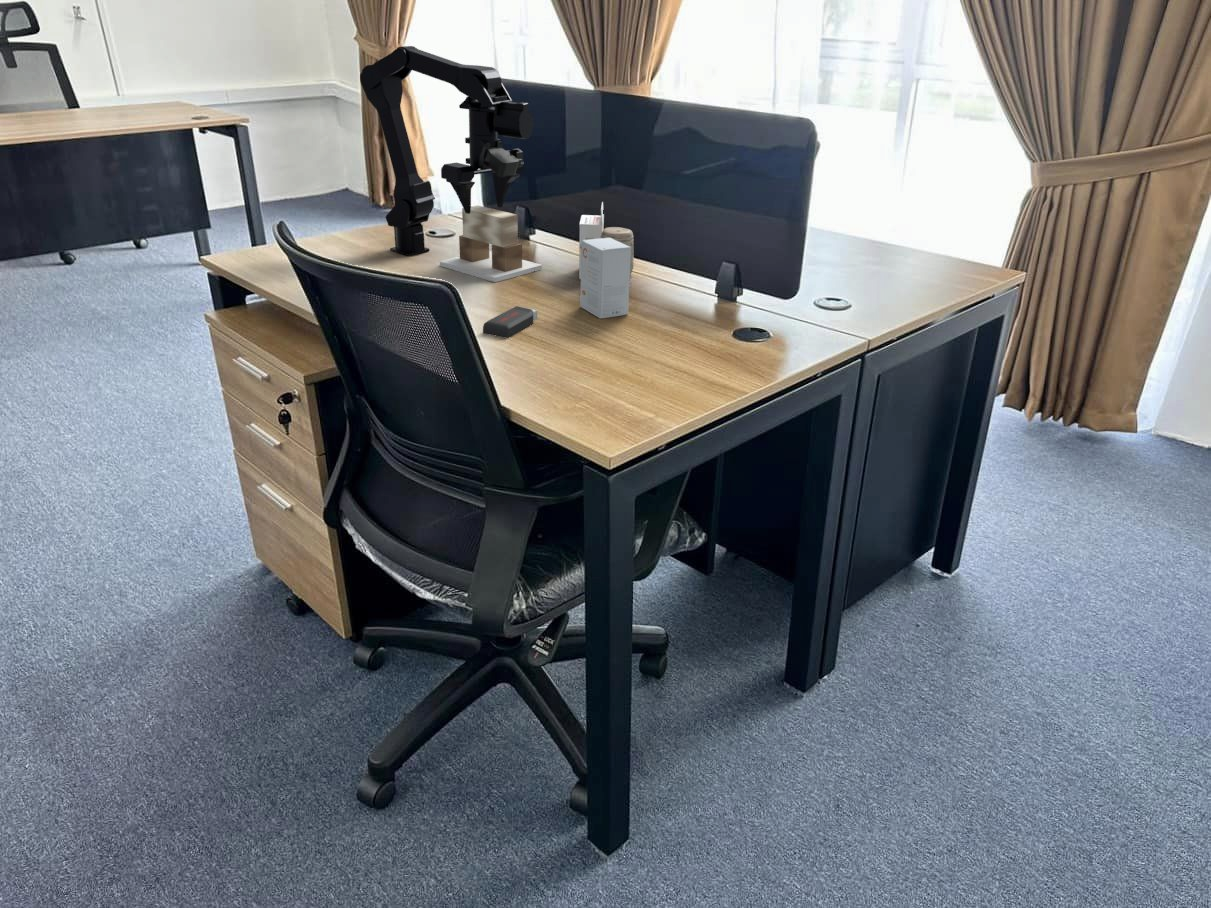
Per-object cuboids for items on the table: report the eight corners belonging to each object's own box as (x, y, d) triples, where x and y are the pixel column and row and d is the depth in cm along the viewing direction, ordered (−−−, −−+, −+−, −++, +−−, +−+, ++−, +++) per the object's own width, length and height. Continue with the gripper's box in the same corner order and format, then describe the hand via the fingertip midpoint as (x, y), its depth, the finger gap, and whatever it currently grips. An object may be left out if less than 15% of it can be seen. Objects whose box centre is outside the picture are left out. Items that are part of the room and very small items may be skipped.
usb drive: (482, 335, 166) (482, 320, 165) (517, 316, 176) (517, 302, 174) (508, 340, 164) (508, 325, 163) (541, 321, 174) (541, 307, 172)
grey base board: (439, 265, 203) (439, 261, 202) (486, 254, 212) (486, 249, 212) (495, 282, 193) (494, 277, 193) (541, 269, 203) (541, 264, 202)
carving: (638, 290, 192) (641, 231, 186) (605, 294, 188) (607, 234, 183) (623, 281, 197) (625, 224, 191) (591, 285, 193) (592, 227, 188)
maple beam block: (463, 236, 202) (462, 208, 199) (478, 233, 205) (477, 205, 202) (502, 247, 195) (502, 218, 192) (517, 243, 198) (517, 214, 195)
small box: (628, 315, 177) (632, 246, 172) (599, 319, 175) (601, 250, 169) (607, 302, 184) (610, 236, 178) (579, 306, 181) (580, 239, 175)
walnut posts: (459, 258, 204) (459, 235, 202) (476, 254, 208) (476, 232, 206) (505, 271, 197) (505, 248, 194) (522, 267, 200) (522, 244, 198)
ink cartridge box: (579, 268, 205) (581, 199, 198) (602, 269, 205) (604, 200, 198) (577, 279, 197) (579, 208, 191) (601, 280, 197) (603, 209, 190)
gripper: (476, 143, 181) (477, 224, 189) (543, 135, 194) (542, 211, 201) (438, 135, 188) (440, 213, 195) (505, 127, 201) (505, 201, 208)
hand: (484, 210), depth 199 cm, fingers open, 9 cm apart
